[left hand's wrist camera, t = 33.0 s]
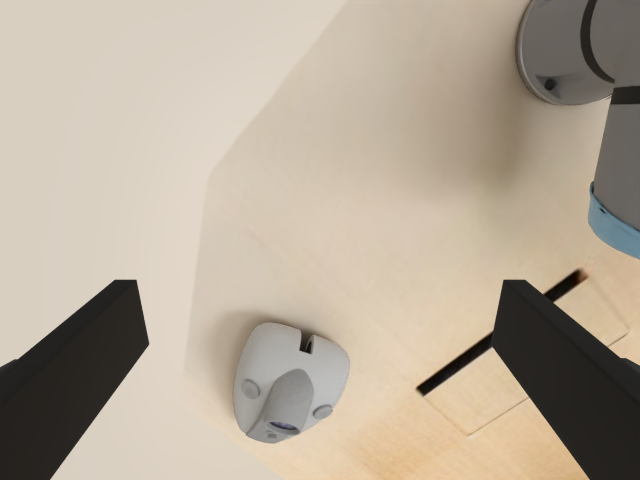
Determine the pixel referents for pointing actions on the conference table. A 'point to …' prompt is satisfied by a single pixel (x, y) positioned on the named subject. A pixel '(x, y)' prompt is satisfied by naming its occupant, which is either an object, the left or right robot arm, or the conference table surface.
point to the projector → (286, 382)
